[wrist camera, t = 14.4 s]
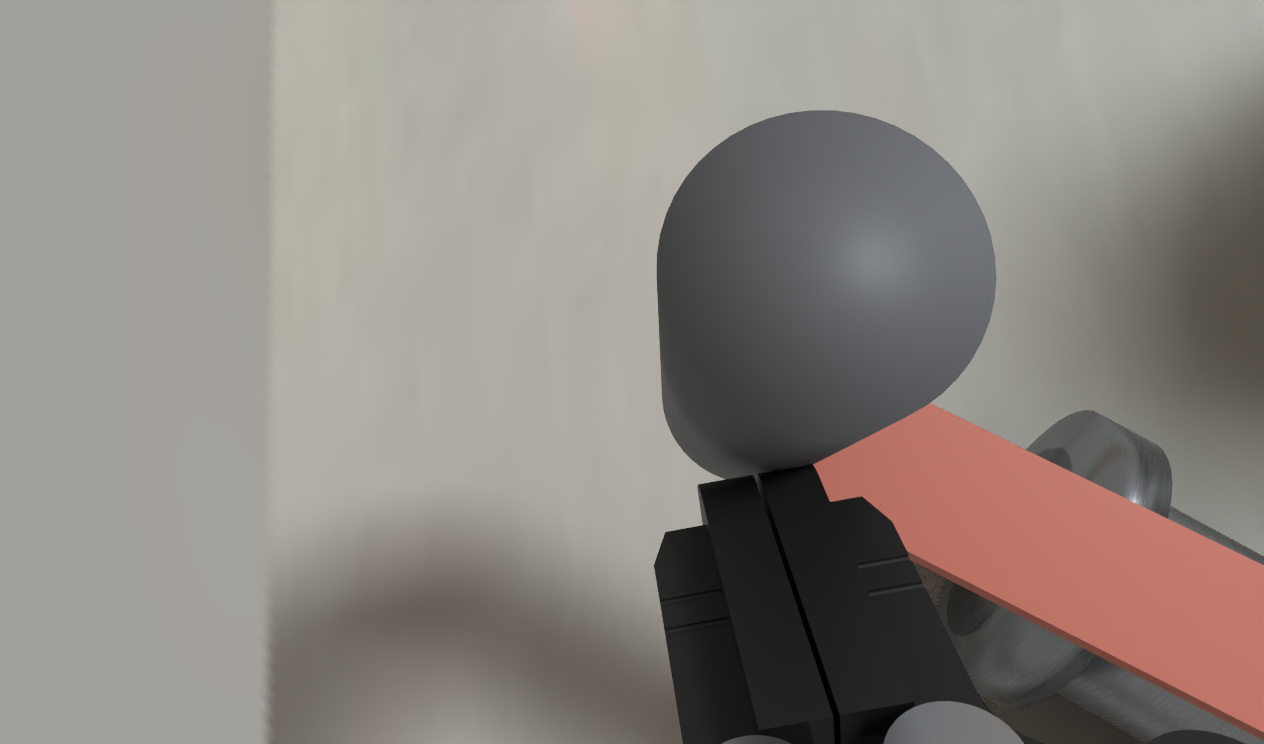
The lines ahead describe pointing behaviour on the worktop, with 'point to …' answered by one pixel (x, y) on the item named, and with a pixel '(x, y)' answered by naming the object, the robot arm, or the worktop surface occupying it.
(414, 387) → the worktop surface
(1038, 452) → the valve body
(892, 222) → the lever
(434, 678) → the worktop surface
